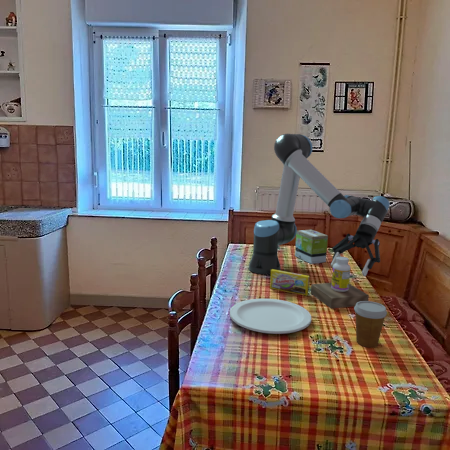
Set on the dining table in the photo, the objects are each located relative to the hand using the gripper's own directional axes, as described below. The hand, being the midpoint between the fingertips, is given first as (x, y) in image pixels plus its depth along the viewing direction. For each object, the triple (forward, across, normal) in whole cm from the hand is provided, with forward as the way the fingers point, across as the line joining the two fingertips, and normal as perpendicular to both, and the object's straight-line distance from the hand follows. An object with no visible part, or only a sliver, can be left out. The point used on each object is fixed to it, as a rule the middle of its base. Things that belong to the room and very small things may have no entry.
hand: (347, 270), depth 165 cm
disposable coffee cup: (+30, -25, +14) cm, 41 cm away
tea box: (-18, +41, -34) cm, 56 cm away
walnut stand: (+11, 0, -4) cm, 12 cm away
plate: (+36, +7, +21) cm, 42 cm away
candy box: (+17, +19, +1) cm, 25 cm away
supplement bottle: (+8, 0, -2) cm, 8 cm away
